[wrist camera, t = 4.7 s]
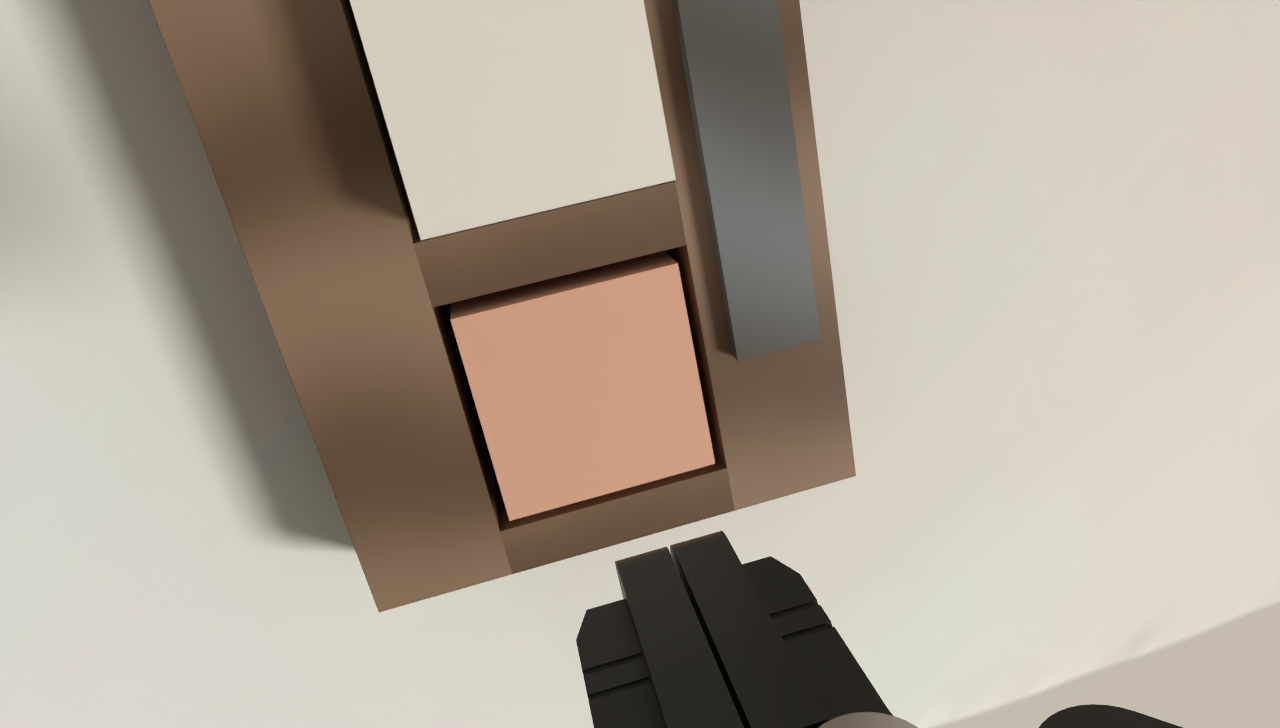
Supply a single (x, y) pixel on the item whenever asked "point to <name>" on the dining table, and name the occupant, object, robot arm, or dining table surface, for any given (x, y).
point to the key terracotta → (585, 382)
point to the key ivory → (515, 104)
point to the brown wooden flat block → (520, 279)
